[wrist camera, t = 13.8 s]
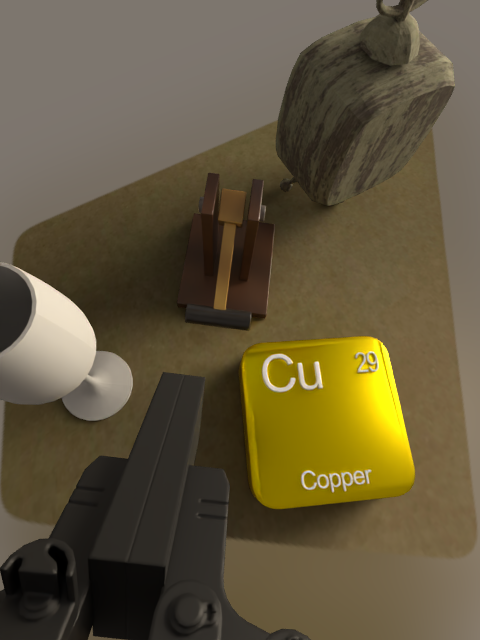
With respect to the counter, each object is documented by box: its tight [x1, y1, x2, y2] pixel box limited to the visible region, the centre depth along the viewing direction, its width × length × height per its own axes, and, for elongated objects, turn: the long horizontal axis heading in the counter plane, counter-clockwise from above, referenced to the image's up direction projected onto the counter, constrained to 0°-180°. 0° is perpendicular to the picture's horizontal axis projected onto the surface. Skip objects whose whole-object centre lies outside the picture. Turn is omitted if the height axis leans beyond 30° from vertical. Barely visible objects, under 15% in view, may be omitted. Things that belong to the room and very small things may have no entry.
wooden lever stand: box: [177, 173, 275, 318], centre depth 38 cm, size 12×10×13 cm
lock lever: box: [185, 189, 251, 331], centre depth 34 cm, size 12×6×2 cm, turn 173°
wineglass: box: [0, 262, 133, 421], centre depth 29 cm, size 8×8×21 cm
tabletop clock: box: [276, 0, 455, 206], centre depth 38 cm, size 14×9×25 cm, turn 121°
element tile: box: [239, 336, 415, 509], centre depth 37 cm, size 15×15×5 cm
